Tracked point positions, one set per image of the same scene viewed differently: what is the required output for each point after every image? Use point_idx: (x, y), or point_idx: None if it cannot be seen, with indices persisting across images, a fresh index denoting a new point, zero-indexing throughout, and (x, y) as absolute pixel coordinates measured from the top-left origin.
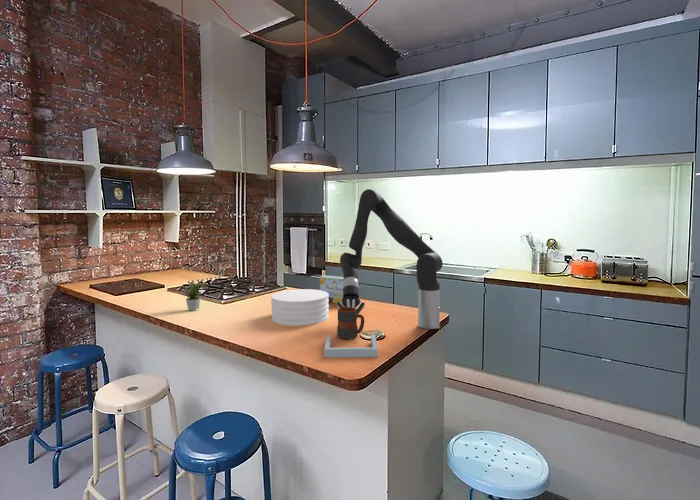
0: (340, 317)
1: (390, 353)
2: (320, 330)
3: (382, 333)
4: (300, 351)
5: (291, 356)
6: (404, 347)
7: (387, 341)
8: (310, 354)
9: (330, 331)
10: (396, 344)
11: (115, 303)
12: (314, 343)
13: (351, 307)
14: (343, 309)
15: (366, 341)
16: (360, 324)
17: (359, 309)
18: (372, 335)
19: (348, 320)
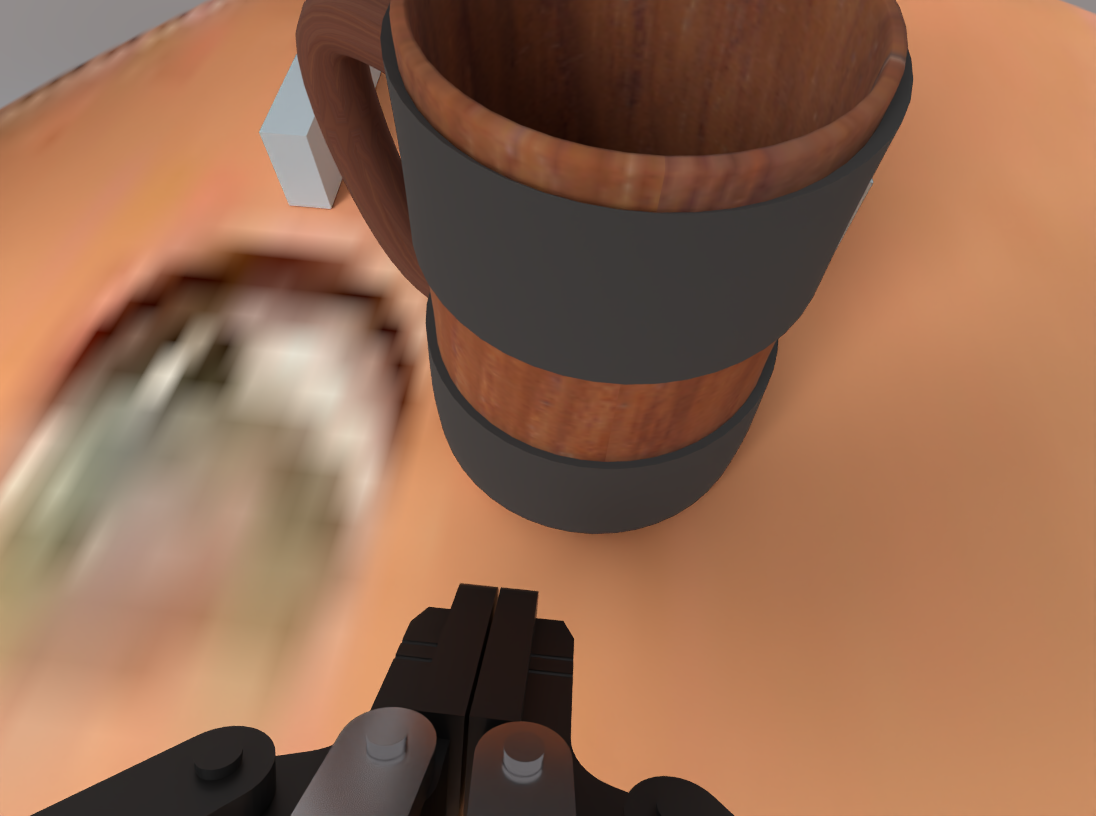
0: (768, 65)
1: (259, 5)
2: (1092, 787)
3: (32, 479)
4: (1040, 100)
5: (1071, 36)
6: (66, 78)
7: (139, 212)
8: (926, 48)
9: (880, 694)
10: (94, 138)
11: None
12: (977, 246)
13: (497, 114)
14: (753, 197)
15: None
16: (393, 142)
17: (74, 805)
18: (298, 119)
19: (603, 65)
